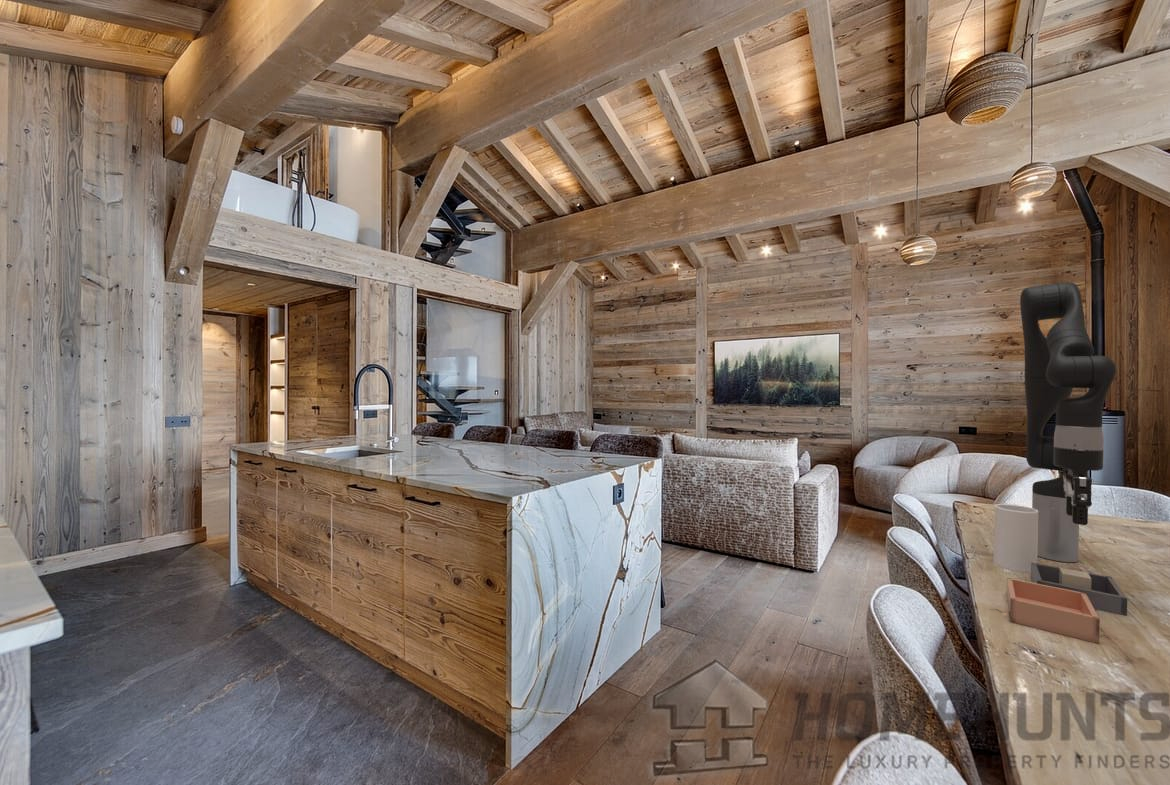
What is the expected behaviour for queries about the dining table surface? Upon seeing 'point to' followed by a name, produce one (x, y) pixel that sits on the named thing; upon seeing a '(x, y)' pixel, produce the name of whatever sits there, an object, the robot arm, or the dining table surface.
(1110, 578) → the bin
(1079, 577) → the block
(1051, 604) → the bin
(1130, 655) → the dining table surface
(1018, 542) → the cup
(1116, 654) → the dining table surface
